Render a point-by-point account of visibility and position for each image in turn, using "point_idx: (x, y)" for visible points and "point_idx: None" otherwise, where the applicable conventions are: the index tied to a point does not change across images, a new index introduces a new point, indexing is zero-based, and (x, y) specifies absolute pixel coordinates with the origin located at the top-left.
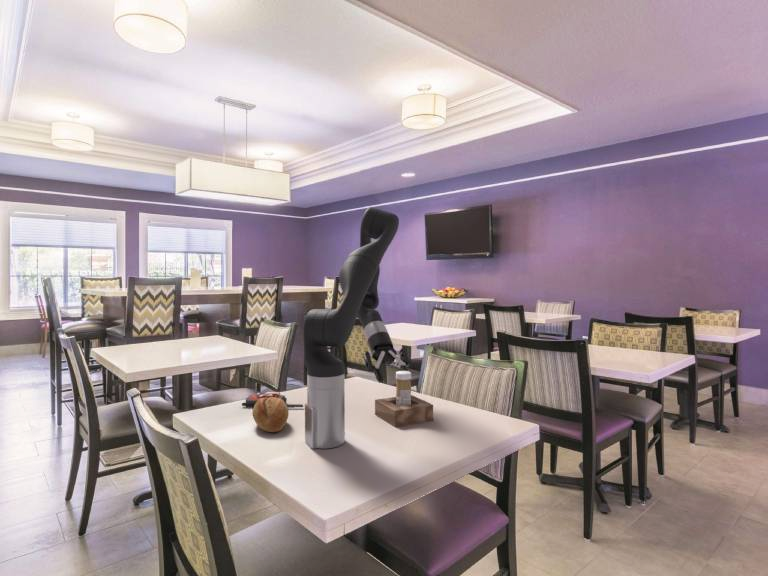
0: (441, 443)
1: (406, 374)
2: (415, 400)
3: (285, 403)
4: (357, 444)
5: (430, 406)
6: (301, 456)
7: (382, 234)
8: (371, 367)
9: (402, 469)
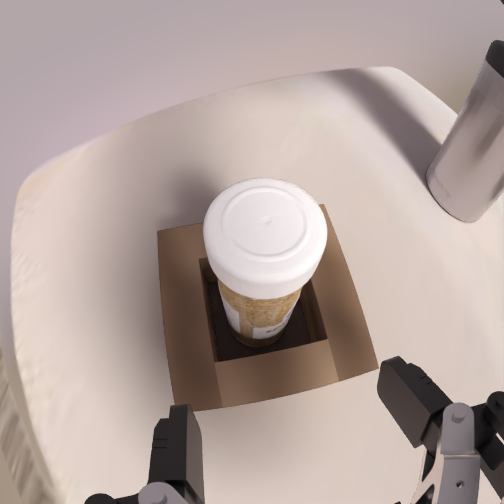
0: (233, 128)
1: (259, 179)
2: (195, 310)
3: None
4: (401, 165)
5: (170, 231)
6: None
7: None
8: (489, 398)
9: (328, 87)
